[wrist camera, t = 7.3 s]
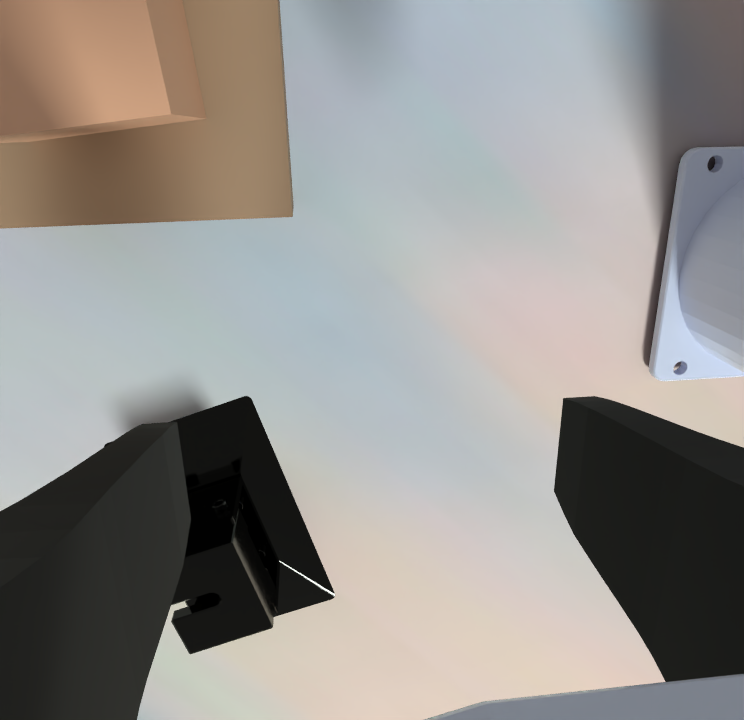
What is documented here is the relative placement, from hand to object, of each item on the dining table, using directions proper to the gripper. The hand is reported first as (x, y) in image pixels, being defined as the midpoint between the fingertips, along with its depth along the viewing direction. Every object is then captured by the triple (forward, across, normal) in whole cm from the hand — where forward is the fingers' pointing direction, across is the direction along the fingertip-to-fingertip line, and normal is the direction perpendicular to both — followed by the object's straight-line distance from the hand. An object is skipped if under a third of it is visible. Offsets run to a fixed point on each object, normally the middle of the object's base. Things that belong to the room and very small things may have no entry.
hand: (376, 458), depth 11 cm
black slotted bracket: (+11, +5, +8) cm, 14 cm away
